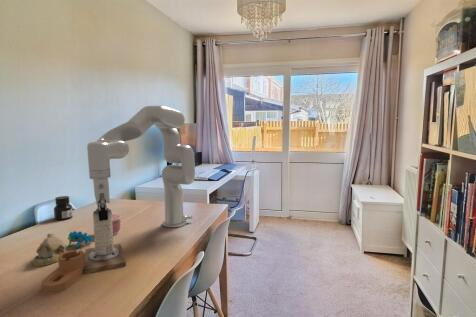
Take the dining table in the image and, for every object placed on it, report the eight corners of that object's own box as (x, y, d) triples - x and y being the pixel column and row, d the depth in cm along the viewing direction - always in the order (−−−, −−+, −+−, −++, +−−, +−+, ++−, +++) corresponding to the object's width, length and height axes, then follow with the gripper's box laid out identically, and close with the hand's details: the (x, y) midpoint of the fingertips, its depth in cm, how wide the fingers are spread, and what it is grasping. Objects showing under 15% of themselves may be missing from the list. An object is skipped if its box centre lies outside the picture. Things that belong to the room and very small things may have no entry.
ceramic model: (43, 251, 133) (41, 229, 132) (72, 250, 135) (70, 227, 134) (27, 267, 119) (24, 241, 118) (59, 265, 121) (57, 240, 120)
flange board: (120, 246, 138) (120, 240, 138) (125, 265, 120) (125, 258, 120) (85, 252, 132) (84, 245, 132) (84, 273, 114) (84, 265, 114)
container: (113, 237, 148) (112, 221, 147) (93, 236, 150) (92, 220, 150) (125, 230, 159) (124, 214, 158) (106, 228, 161) (106, 213, 160)
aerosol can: (116, 249, 129) (114, 201, 127) (109, 256, 122) (106, 206, 120) (99, 249, 129) (97, 201, 127) (91, 256, 122) (89, 206, 120)
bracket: (67, 267, 119) (66, 250, 118) (89, 267, 119) (88, 250, 118) (36, 293, 101) (34, 273, 100) (61, 294, 101) (60, 273, 100)
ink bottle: (66, 220, 173) (65, 199, 172) (50, 220, 173) (49, 199, 172) (76, 215, 183) (74, 195, 181) (60, 215, 183) (59, 195, 182)
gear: (98, 238, 143) (84, 229, 135) (93, 251, 139) (79, 242, 132) (77, 240, 145) (62, 230, 138) (72, 252, 142) (57, 243, 134)
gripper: (112, 176, 116) (114, 221, 118) (108, 169, 131) (111, 209, 134) (89, 178, 113) (93, 224, 115) (89, 171, 128) (92, 211, 130)
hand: (103, 216), depth 124 cm, fingers open, 9 cm apart
